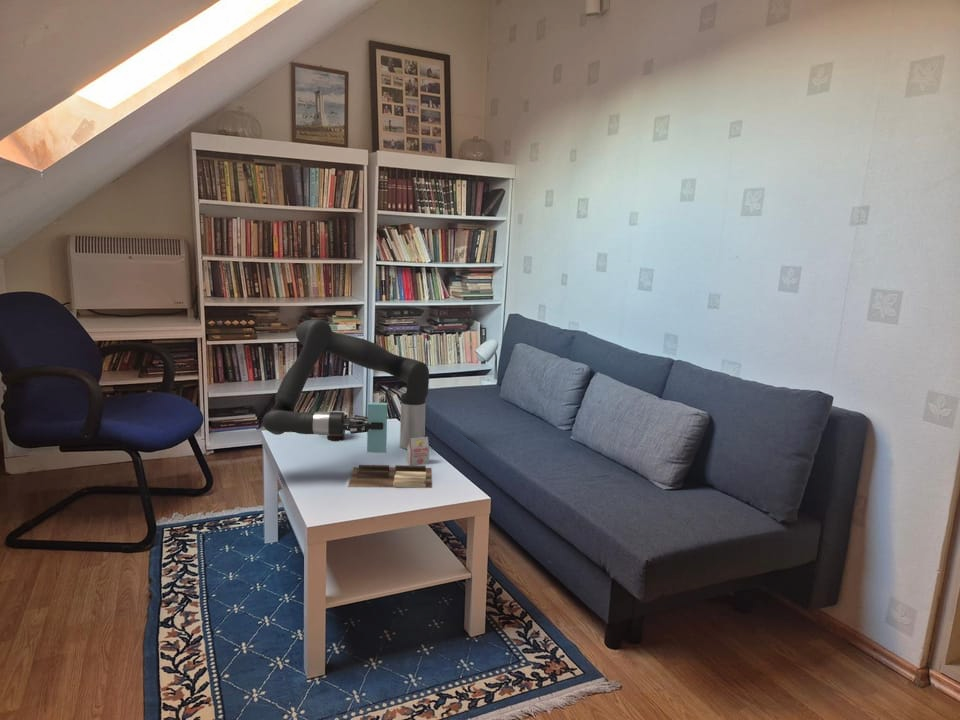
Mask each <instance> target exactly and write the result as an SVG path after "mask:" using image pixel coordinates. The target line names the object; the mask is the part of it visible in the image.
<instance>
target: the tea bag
mask: <svg viewBox="0 0 960 720" xmlns="http://www.w3.org/2000/svg"><path fill="white" fill-rule="evenodd" d="M406 463H407V464H408V465H413V466H419V465H424V464H425V465H427V464H429V463H430V445H429V437H428V436H425V437H420V438H409V443H408V447H407V449H406Z"/></svg>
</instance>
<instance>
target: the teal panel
mask: <svg viewBox="0 0 960 720" xmlns="http://www.w3.org/2000/svg"><path fill="white" fill-rule="evenodd" d="M367 417H368V422H371V424H372V422H379V423H383V429H382V430H370V431H369V432H366V434H367V437H366V453H373V454H375V453H379V454H380V453H381V454H382V453H383V454H384V453H385V454H387V435H388V433H387V432H388V427H387V426H388V402H368V403H367Z"/></svg>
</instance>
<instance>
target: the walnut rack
mask: <svg viewBox="0 0 960 720" xmlns="http://www.w3.org/2000/svg"><path fill="white" fill-rule="evenodd" d="M396 471H407V472H426V487H393V484H394V475H395V474H396ZM432 472H433V471H432V467H427V466H426V465H410V464H408V465H405V464H404V465H401V464H395V466H390V464H389V465H388V464H385V465H383V464H358V466H353V469H352V471H351V475H350V478H349V481H348V485H347V488H393V489H395V488H401V489H402V488H407V489H409V488H415V489H416V488H417V489H419V488H421V489H422V488H423V489H425V488H426V489H429V488H431V489H432V488H433V479H432V475H433V474H432Z"/></svg>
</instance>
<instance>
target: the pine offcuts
mask: <svg viewBox="0 0 960 720" xmlns="http://www.w3.org/2000/svg"><path fill="white" fill-rule="evenodd" d="M394 487H426V472H407V471H396V474H395V475H394V484H393V487H392V488H394Z"/></svg>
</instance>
